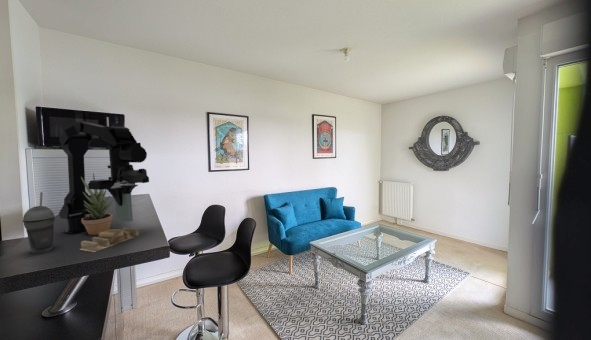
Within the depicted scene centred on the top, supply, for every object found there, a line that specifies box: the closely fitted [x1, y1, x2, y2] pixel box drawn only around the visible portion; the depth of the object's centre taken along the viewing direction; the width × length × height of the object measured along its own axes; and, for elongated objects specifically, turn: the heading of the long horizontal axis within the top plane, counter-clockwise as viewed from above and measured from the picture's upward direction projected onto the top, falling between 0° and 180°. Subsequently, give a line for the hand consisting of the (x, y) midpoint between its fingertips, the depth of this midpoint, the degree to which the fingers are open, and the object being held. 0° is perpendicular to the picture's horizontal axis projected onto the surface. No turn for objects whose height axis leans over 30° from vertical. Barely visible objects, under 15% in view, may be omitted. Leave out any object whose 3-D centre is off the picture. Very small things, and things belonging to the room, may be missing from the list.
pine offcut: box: [98, 228, 124, 239], centre depth 87 cm, size 4×5×2 cm
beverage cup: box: [22, 191, 56, 255], centre depth 80 cm, size 7×7×20 cm
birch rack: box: [79, 227, 140, 253], centre depth 88 cm, size 16×7×4 cm, turn 162°
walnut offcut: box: [109, 235, 126, 246], centre depth 88 cm, size 5×6×2 cm
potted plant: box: [81, 172, 114, 236], centre depth 97 cm, size 10×10×25 cm
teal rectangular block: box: [114, 193, 134, 223], centre depth 91 cm, size 2×6×10 cm, turn 72°
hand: (123, 205), depth 91 cm, fingers closed on teal rectangular block, 1 cm apart
